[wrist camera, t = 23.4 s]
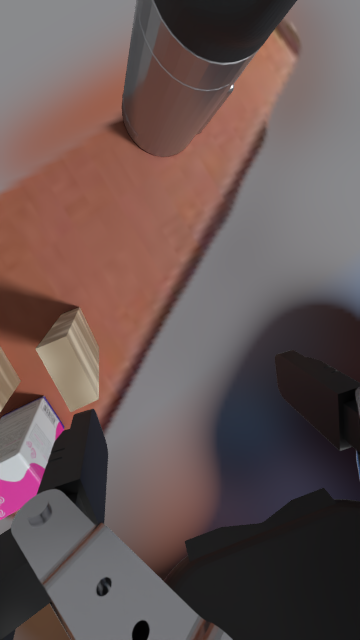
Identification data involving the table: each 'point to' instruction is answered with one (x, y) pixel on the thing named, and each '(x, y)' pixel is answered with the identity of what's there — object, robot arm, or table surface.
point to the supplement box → (25, 452)
